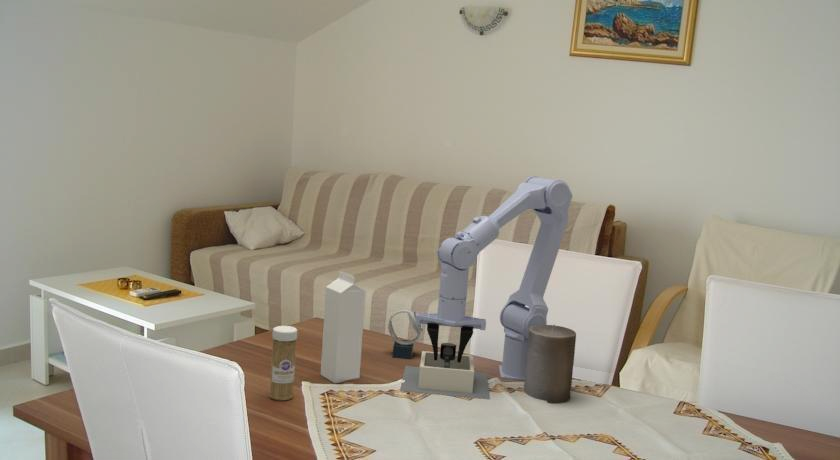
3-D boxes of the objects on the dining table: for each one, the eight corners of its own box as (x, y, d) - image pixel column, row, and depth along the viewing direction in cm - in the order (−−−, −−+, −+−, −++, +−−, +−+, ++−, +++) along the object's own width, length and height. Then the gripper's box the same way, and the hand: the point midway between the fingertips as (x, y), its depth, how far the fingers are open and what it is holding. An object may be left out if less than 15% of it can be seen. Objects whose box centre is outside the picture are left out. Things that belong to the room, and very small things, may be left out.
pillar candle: (576, 394, 154) (583, 324, 153) (560, 406, 146) (567, 333, 144) (533, 383, 159) (539, 315, 157) (515, 395, 151) (521, 324, 149)
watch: (419, 361, 168) (423, 314, 166) (384, 358, 168) (388, 311, 167) (421, 354, 173) (424, 309, 172) (387, 351, 174) (390, 305, 172)
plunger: (465, 373, 158) (468, 341, 157) (466, 386, 150) (469, 353, 149) (426, 369, 159) (428, 337, 158) (424, 382, 150) (427, 349, 149)
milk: (334, 384, 149) (341, 277, 146) (320, 374, 154) (326, 271, 151) (360, 379, 153) (367, 275, 150) (345, 370, 157) (351, 269, 154)
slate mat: (486, 374, 162) (486, 373, 162) (490, 401, 146) (490, 399, 146) (405, 367, 163) (405, 365, 163) (399, 392, 147) (399, 390, 147)
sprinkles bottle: (275, 402, 136) (279, 332, 135) (265, 394, 140) (268, 326, 138) (297, 399, 139) (301, 330, 137) (286, 391, 143) (290, 323, 141)
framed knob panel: (471, 375, 160) (472, 355, 159) (472, 393, 149) (474, 371, 148) (420, 370, 160) (422, 350, 159) (418, 388, 149) (419, 366, 148)
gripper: (416, 297, 148) (411, 362, 150) (488, 304, 148) (482, 369, 149) (418, 290, 155) (413, 352, 157) (487, 296, 155) (481, 358, 156)
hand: (447, 360), depth 154 cm, fingers open, 4 cm apart
